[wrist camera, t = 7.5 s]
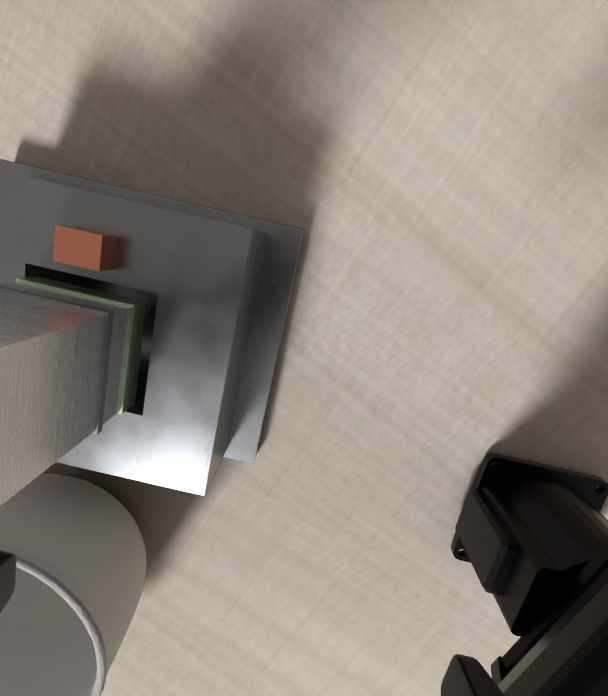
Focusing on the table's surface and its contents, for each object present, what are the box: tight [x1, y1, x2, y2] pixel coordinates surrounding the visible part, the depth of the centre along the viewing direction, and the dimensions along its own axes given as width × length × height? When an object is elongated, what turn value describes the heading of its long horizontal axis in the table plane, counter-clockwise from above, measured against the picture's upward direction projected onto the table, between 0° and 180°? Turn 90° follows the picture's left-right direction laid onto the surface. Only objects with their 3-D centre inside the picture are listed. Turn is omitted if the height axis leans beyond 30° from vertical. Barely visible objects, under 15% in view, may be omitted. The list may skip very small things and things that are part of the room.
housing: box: [0, 159, 305, 496], centre depth 17 cm, size 14×12×6 cm
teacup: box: [0, 473, 147, 696], centre depth 20 cm, size 14×11×8 cm
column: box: [0, 276, 147, 506], centre depth 12 cm, size 4×4×7 cm
